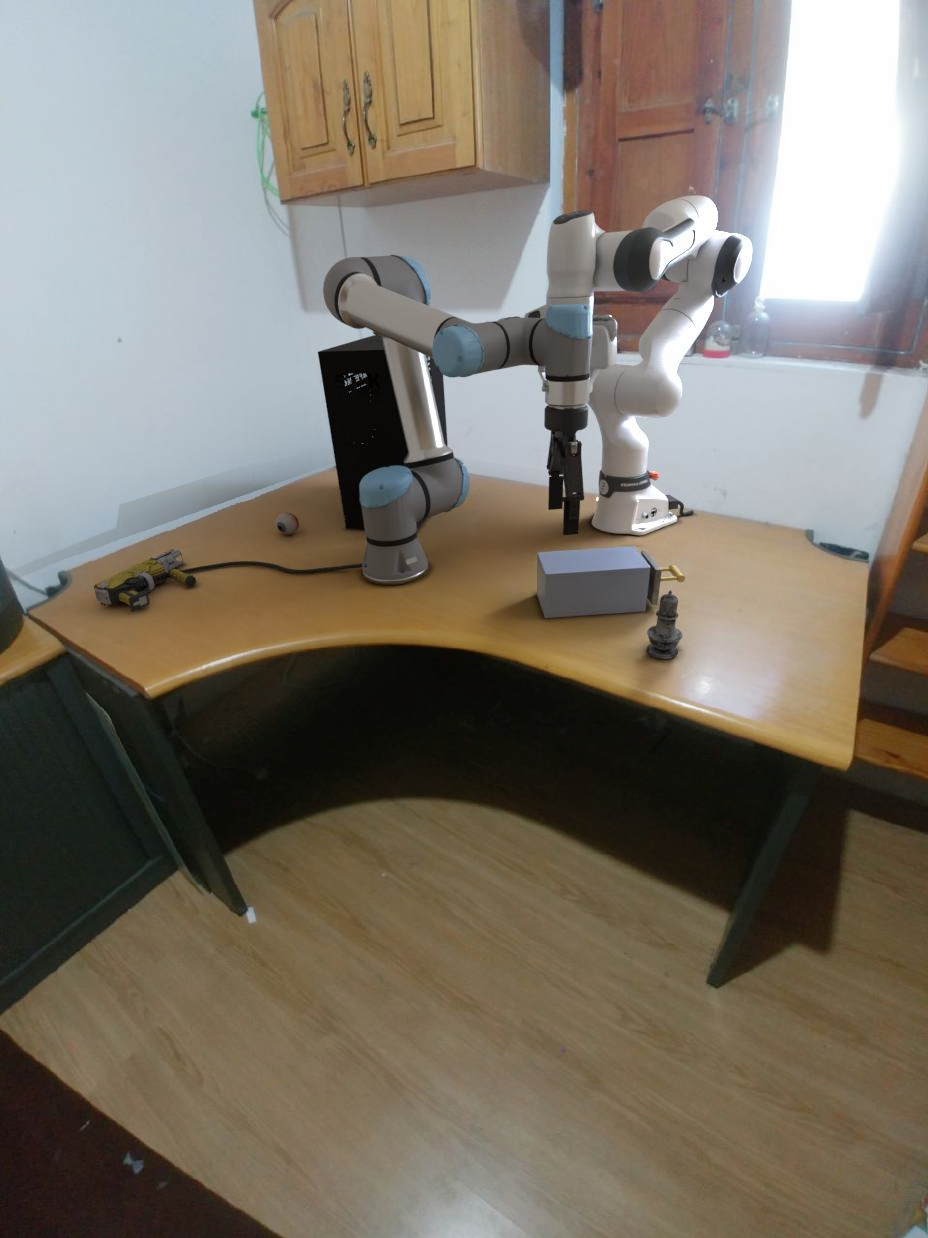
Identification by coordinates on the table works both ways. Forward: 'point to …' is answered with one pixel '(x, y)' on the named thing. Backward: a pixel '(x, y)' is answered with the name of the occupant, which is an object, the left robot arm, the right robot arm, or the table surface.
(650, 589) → the drawer
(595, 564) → the cabinet
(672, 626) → the dark grey chess piece
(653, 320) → the right robot arm
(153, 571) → the toy gun
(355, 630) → the table surface
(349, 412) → the black tall box
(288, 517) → the eyeball
